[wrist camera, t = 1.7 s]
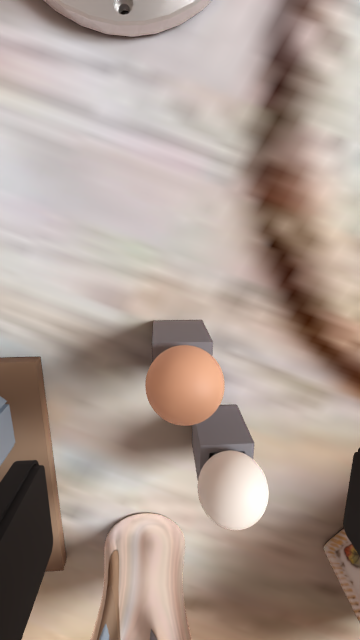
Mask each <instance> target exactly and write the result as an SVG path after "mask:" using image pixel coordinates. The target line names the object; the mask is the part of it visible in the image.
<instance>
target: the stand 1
mask: <svg viewBox="0 0 360 640" xmlns="http://www.w3.org/2000/svg"><path fill="white" fill-rule="evenodd" d="M179 345H190V346H195V347H198V348H201V349H203V350H205V351H206V352H208V353H209V354H210V355H211V356H212V353H213V341H212V339H211V337H210V335H209V333H208V331H207V329H206V327H205V325H204V323H203V321H202V320H166V321H153V336H152V361H154V360H155V359H156V357H157V356H158V355H160V354H161V353H162V352H164V351H165V350H167V349H169V348H171V347H174V346H179Z"/></svg>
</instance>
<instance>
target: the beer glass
mask: <svg viewBox="0 0 360 640" xmlns="http://www.w3.org/2000/svg"><path fill="white" fill-rule="evenodd" d="M184 556H185V539H184V535H183V533H182V531H181V529H180V527H179V526H178V525H177V524H176V523H175V522H174V521H172V520H171V519H169V518H167V517H165V516H162V515H159V514H153V513H141V514H135V515H131V516H129V517H126V518H124V519H122V520H121V521H119V522H118V523H117V524H115V525H114V526H113V527H112V528H111V530H110V531H109V533H108V535H107V537H106V540H105V545H104V586H103V594H102V599H101V603H100V608H99V612H98V615H97V619H96V622H95V626H94V629H93V633H92V636H91V639H90V640H192V639H191V634H190V630H189V625H188V620H187V615H186V610H185V605H184V596H183V566H184Z"/></svg>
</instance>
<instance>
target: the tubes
mask: <svg viewBox="0 0 360 640" xmlns="http://www.w3.org/2000/svg"><path fill="white" fill-rule="evenodd" d="M6 402H7V401H6V400H5V399H4V398H2V397H1V396H0V466H1V464H2V463H3V461H4V460H5V458H6V457H7V455H8V454H9V453H10V451H11V450H12V448H13V447H14V444H15V437H14V430H13V424H12V418H11V412H10V406H9V404H5V403H6Z"/></svg>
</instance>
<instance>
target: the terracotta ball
mask: <svg viewBox="0 0 360 640" xmlns="http://www.w3.org/2000/svg"><path fill="white" fill-rule="evenodd" d="M146 394H147V398H148V400H149V403H150V405H151V406H152V408H153V409H154V411H155V412H156V413H157V414H158V415H159V416H160V417H161V418H163V419H164V420H166V421H168V422H170V423H172V424H176V425H182V426H189V425H195V424H198V423H200V422H203V421H204V420H206V419H208V418H209V417H210V416H211V415H212V414H213V413H214V412H215V411H216V410H217V408H218V407H219V405H220V403H221V401H222V398H223V394H224V376H223V373H222V370H221V368H220V366H219V364H218V363H217V361H216V360H215V359H214V358H213V357H212V356H211V355H210V354H209V353H208V352H206V351H205V350H203V349H201V348H198V347H195V346H190V345H179V346H174V347H171V348H169V349H167V350H165V351H164V352H162V353H161V354H160V355H158V356H157V357H156V359H155V360H154V361H153V363H152V364H151V366H150V368H149V370H148V373H147V377H146Z"/></svg>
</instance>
